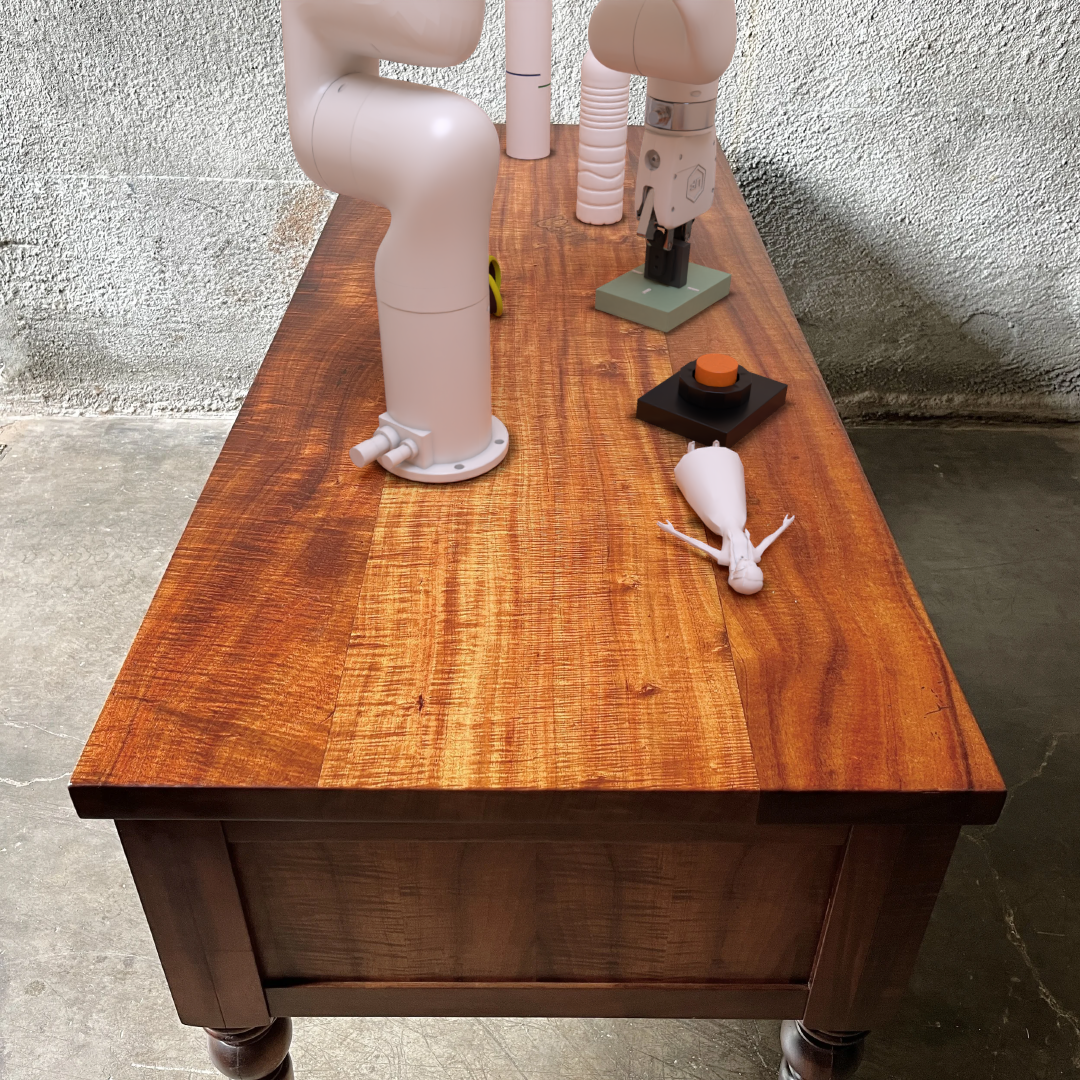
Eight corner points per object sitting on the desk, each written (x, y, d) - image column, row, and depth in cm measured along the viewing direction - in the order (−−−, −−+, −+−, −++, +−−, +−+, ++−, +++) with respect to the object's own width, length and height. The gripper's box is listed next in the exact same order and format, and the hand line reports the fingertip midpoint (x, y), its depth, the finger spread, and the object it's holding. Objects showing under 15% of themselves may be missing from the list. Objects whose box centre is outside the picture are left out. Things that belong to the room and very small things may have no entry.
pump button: (722, 392, 98) (724, 376, 97) (686, 380, 100) (688, 363, 99) (743, 377, 101) (746, 361, 100) (708, 365, 103) (710, 349, 102)
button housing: (724, 453, 97) (729, 415, 94) (635, 418, 102) (638, 382, 99) (785, 404, 104) (791, 368, 102) (699, 373, 109) (703, 339, 107)
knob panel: (666, 333, 117) (668, 311, 115) (594, 309, 122) (595, 287, 120) (729, 293, 126) (732, 272, 124) (660, 272, 131) (661, 252, 129)
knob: (686, 284, 121) (691, 240, 118) (679, 288, 120) (683, 244, 117) (651, 273, 124) (654, 230, 121) (643, 277, 123) (646, 234, 120)
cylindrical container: (501, 148, 172) (499, -22, 157) (542, 144, 173) (544, -24, 158) (513, 160, 166) (512, -14, 151) (555, 157, 168) (558, -16, 153)
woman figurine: (770, 427, 91) (832, 564, 78) (762, 468, 94) (820, 607, 81) (640, 432, 90) (679, 572, 77) (636, 473, 93) (673, 614, 80)
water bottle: (620, 227, 143) (632, 28, 128) (573, 224, 144) (579, 26, 129) (625, 205, 150) (636, 15, 135) (580, 203, 151) (587, 13, 136)
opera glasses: (462, 295, 126) (452, 256, 123) (504, 286, 126) (495, 247, 123) (461, 330, 119) (451, 290, 116) (506, 321, 118) (497, 280, 115)
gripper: (669, 135, 104) (654, 306, 115) (747, 104, 114) (727, 264, 125) (608, 121, 108) (600, 289, 119) (689, 92, 117) (675, 249, 129)
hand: (665, 275), depth 122 cm, fingers closed on knob
